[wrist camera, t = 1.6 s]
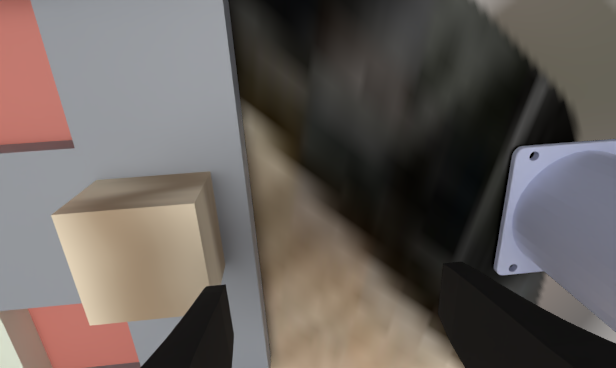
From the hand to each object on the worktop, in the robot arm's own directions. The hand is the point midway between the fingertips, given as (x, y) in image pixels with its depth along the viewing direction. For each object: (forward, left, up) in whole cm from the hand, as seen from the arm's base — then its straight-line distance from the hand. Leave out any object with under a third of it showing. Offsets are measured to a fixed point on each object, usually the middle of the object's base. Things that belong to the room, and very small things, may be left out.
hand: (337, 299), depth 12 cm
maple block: (+7, 0, -6) cm, 10 cm away
